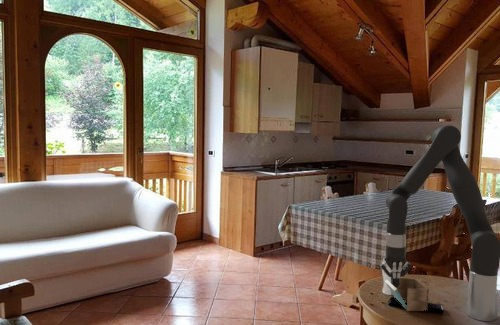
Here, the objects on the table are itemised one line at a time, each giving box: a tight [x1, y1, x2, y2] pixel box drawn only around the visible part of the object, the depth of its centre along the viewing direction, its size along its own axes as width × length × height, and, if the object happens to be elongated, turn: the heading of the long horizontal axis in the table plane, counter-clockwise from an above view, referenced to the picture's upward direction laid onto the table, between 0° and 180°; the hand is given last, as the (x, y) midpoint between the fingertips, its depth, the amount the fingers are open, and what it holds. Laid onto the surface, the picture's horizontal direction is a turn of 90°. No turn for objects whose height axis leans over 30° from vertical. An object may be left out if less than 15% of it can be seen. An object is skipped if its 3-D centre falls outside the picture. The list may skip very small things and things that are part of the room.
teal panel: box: [385, 280, 407, 310], centre depth 166 cm, size 1×10×9 cm
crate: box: [395, 277, 430, 312], centre depth 166 cm, size 8×12×9 cm
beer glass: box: [381, 256, 394, 296], centre depth 178 cm, size 7×7×15 cm
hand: (395, 286), depth 165 cm, fingers closed
